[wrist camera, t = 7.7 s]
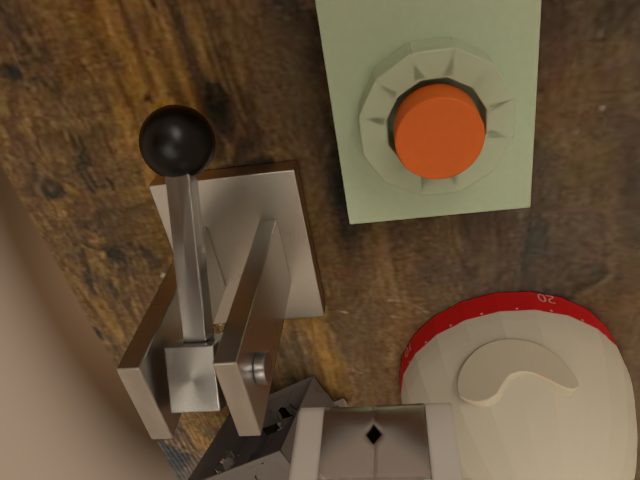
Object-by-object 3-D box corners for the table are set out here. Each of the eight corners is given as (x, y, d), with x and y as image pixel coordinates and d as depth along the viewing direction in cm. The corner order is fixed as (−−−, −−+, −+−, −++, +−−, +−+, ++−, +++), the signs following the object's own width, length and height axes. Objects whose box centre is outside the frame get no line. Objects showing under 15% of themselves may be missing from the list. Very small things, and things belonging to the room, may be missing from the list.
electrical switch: (254, 442, 43) (219, 559, 34) (212, 398, 41) (165, 511, 33) (354, 402, 39) (341, 522, 31) (313, 352, 37) (288, 465, 29)
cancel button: (389, 89, 23) (390, 103, 21) (478, 77, 22) (485, 91, 21) (396, 166, 25) (398, 184, 23) (478, 157, 24) (485, 175, 23)
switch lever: (155, 116, 25) (120, 102, 22) (221, 107, 25) (194, 92, 22) (185, 392, 26) (155, 417, 23) (250, 389, 25) (229, 414, 22)
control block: (318, -11, 24) (310, 7, 21) (530, -45, 23) (557, -33, 19) (351, 203, 30) (348, 244, 27) (520, 186, 29) (539, 226, 25)
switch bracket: (155, 176, 30) (50, 319, 20) (297, 159, 29) (258, 303, 19) (204, 312, 35) (140, 478, 26) (325, 304, 34) (307, 474, 24)
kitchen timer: (381, 310, 34) (385, 558, 22) (617, 273, 31) (780, 536, 19) (419, 447, 41) (440, 693, 29) (615, 428, 38) (732, 692, 26)
